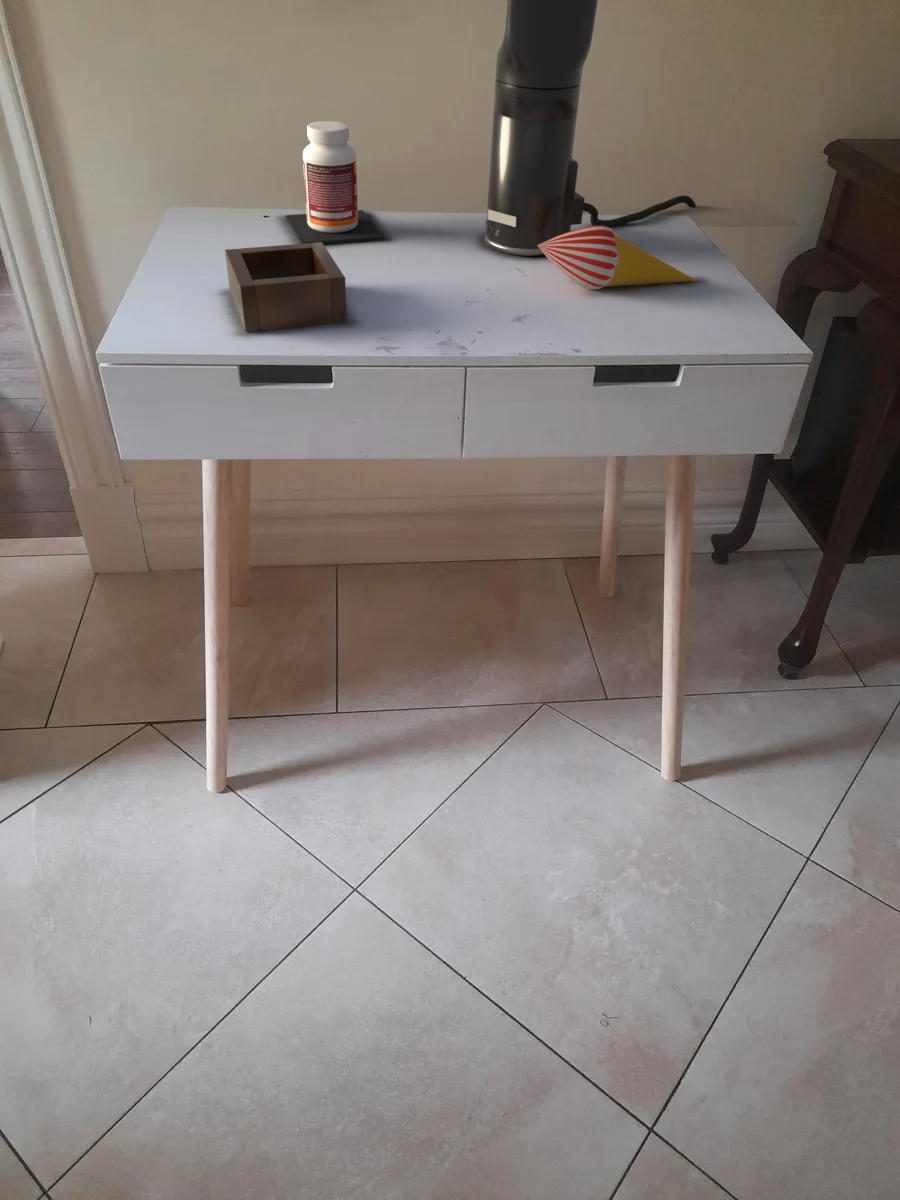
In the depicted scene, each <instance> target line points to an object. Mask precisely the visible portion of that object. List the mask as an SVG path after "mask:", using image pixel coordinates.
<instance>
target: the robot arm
mask: <svg viewBox="0 0 900 1200" xmlns="http://www.w3.org/2000/svg"><path fill="white" fill-rule="evenodd" d="M598 1H599V0H507V8H506V17H505V18H506V19H505V26H504V27H505V29H504V35H503V40H502V42H501V45H500V47H499V48H498V50H497V54H496V62H495V65H496V66H495V80H494V81H495V82H494V98H493V115H492V128H491V129H492V130H491V147H490V162H489V177H488V192H487V193H488V194H487V206H486V207H487V208H486V209H487V210H486V221H485V232H484V242H485V244H486V245H487V246H488V247H490V248H492V249H494V250H495V251H498V252H501V253H505V254H509V255H513V256H523V257H524V256H526V257H528V256H529V257H532V256H533V257H536V256H544V255H545V254H544V253H543V252H542V251H541V249H540V248H539V247H538V246H537V245H539V244H541V243H543V242H546V241H548V240H550V239H552V238H554V237H556V236H559V235H562V234H565V233H567V232H570V231H571V229H572V228H571V227H572V225H573V226H574V225H581V224H582V222H583V212H586V213H588V214H590V217H589V218H590V219H589V220H590V224H591V226H597V225H600V226H606V227H609V228H613V227H618V226H622V225H626V224H629V223H633V222H635V221H641V220H643V219H645V218H647V217H650V216H652V215H654V214H656V213H658V212H662V211H666V210H667V209H670V208H671V207H674V206H676V205H679V204H685V205H687V207H688V208H691V209H693V208H697V205H696V204H697V203H696V202H695V200H694V199H692V198H691V196H689V195H677V196H675V197H672V198H670V199H667V200H665V201H662V202H660V203H656V204H654V205H651V206H649V207H647V208H645V209H643V210H640V211H638V212H634V213H629V214H626V215H623V216H619V217H616V218H611V219H599V210H598V209H597V208H596V207H595V205H593V204H591V203H588V202H585V197H584V196H582V195H581V194H580V193H578V192H577V191H576V187H577V181H578V180H577V179H578V170H579V163H578V161H577V160H576V159H574V158H573V152H574V146H575V145H574V144H575V136H576V126H577V119H578V109H579V101H580V94H581V93H580V92H581V83H582V76H583V69H584V65H585V63H586V60H587V59H588V55H589V53H590V51H591V45H592V41H593V36H594V35H593V34H594V29H595V21H596V16H597V9H598ZM545 256H546V255H545Z"/></svg>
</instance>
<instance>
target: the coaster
mask: <svg viewBox="0 0 900 1200" xmlns="http://www.w3.org/2000/svg"><path fill="white" fill-rule="evenodd" d="M284 218H285V221H286V222H287V224H288V226H289V227H290V229H291V232H293V234H294V236H295V238H296V239H297V241H298V243H299V244H305V243H317V242H322V243H323V244H324V245H333V244H345V243H346V244H347V243H357V242H358V243H360V242H370V241H371V242H373V241H384V240H385V236H384V234H383V233H382V231H380V229H379V228H378V227H377V226H376V224H375V223H374V222H373V220H371V218H370V217H369V216H368V215H367V213H366V212H365V211H364V210H363V209H358V224H357V226H356V227H355V228H354V229H352V230H349V231H345V232H340V233H327V232H321V231H317V230H314V229H312V228H311V227H310V226H309V225H308V223H307V213H302V214H301V213H300V214H287V215H286V214H285V215H284Z"/></svg>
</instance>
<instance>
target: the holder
mask: <svg viewBox="0 0 900 1200" xmlns="http://www.w3.org/2000/svg"><path fill="white" fill-rule="evenodd" d="M224 255H225V263H226V270H227V279H228V285H229V293H230V296H231V299H232V301H233V304H234V306H235V309H236V311H237V314H238V316H239V319H240V322H241V324H242V327H243V330H244V331H245V333H254V332H264V331H273V330H282V329H293V328H303V327H312V326H321V325H333V324H340V323H341V324H342V323H347V322H348V316H347V315H348V314H347V313H348V311H347V291H346V288H347V287H346V277H345V275H344V274H343V272H342V270H341V269H340V267H339V266H338V265H337V263H336V261H335V259H334V258H333V256H332V255H331V253H330V251H328V249H327V247H326V246H325V244H323V243H322V242H317V243H305V244H300V243H293V244H280V245H267V246H255V247H254V246H253V247H243V248H242V247H241V248H229V249H224Z"/></svg>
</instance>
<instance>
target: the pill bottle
mask: <svg viewBox="0 0 900 1200" xmlns="http://www.w3.org/2000/svg"><path fill="white" fill-rule="evenodd" d="M349 129H350V128H349V125H348V124H347V123H344V122H341V121H334V120H333V121H332V120H331V121H330V120H321V121H314V122H313V121H312V122H310V123H308V124H307V126H306V130H307V131H306V134H307V139H308V141H310V143H309V144H307V145H306V146H305V147H304V148H303V151H302V167H303V182H304V196H305V197H304V198H305V212H306V213H305V214H307V223H308V225H309V226H310V227H311V228H312V229H314V230H317V231H321V232H327V233H340V232H345V231H349V230H352V229H354V228H355V227H356V226H357V224H358V210H359V209H358V180H357V179H358V178H357V154H356V151H355V149H354V148H353V147H352V146H350V145H349V144H348V141H349V138H350V133H349V132H350V131H349Z"/></svg>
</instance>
